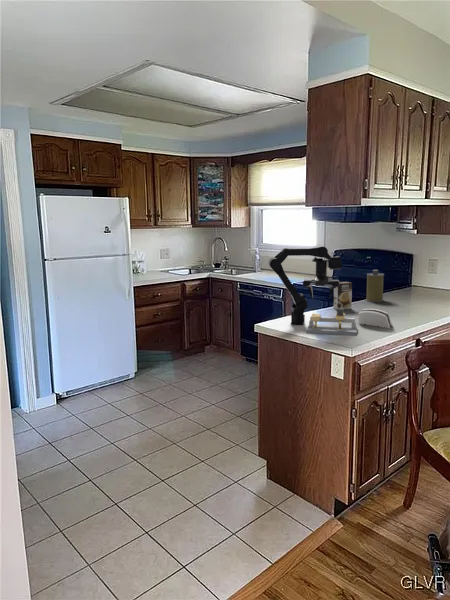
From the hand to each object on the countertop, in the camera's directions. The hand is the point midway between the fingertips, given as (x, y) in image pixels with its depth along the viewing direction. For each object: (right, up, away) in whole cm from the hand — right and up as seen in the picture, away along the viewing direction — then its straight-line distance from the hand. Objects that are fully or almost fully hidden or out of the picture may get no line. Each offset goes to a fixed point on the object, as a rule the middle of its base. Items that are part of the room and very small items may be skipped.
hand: (321, 298), depth 241 cm
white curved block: (+26, -14, -7) cm, 31 cm away
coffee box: (+20, -6, +33) cm, 39 cm away
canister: (+46, -1, +53) cm, 70 cm away
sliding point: (+6, -14, -15) cm, 21 cm away
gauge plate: (+2, -16, -14) cm, 22 cm away
